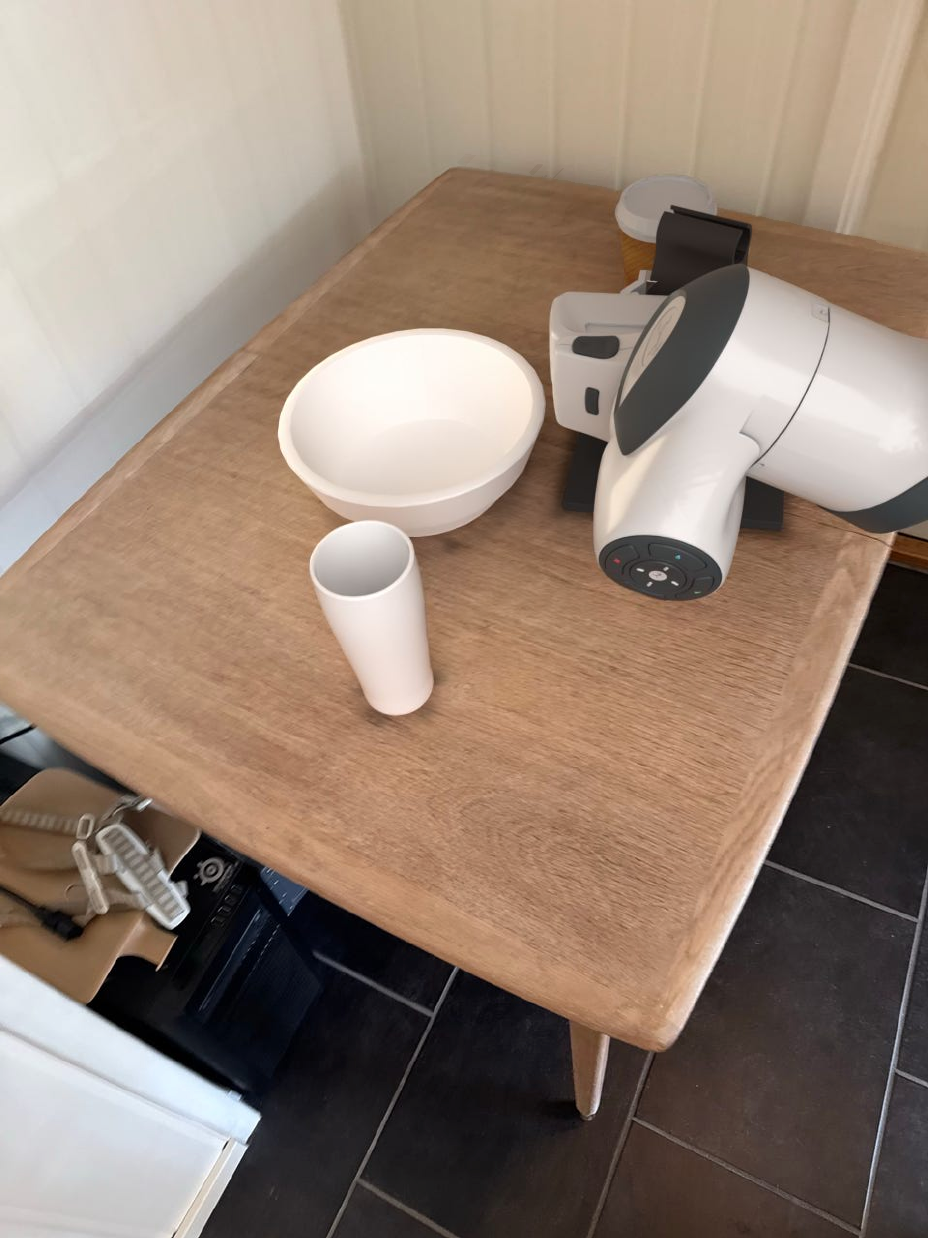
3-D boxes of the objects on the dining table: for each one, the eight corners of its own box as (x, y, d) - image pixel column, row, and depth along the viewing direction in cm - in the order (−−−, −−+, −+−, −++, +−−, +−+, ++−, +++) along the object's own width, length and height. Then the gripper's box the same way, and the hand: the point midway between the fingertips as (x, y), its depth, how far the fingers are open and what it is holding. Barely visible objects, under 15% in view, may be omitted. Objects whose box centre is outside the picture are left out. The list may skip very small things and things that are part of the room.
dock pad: (785, 377, 83) (791, 350, 81) (780, 531, 72) (787, 505, 69) (595, 366, 87) (596, 340, 85) (562, 510, 76) (561, 485, 73)
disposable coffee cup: (710, 333, 88) (726, 218, 79) (615, 340, 89) (619, 227, 80) (697, 280, 94) (711, 167, 85) (607, 287, 95) (611, 176, 86)
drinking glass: (403, 637, 69) (367, 502, 57) (463, 685, 66) (437, 552, 54) (337, 691, 67) (285, 562, 55) (396, 744, 63) (354, 619, 51)
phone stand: (681, 321, 74) (697, 179, 65) (747, 341, 72) (774, 197, 62) (627, 379, 70) (635, 237, 61) (695, 403, 68) (715, 258, 58)
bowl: (282, 579, 74) (253, 510, 67) (320, 406, 88) (299, 334, 81) (550, 571, 72) (547, 498, 65) (546, 394, 85) (544, 319, 79)
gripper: (860, 366, 54) (854, 245, 62) (531, 347, 58) (565, 236, 66) (836, 445, 59) (833, 323, 67) (534, 422, 63) (565, 310, 71)
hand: (697, 280), depth 66 cm, fingers closed on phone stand, 6 cm apart
